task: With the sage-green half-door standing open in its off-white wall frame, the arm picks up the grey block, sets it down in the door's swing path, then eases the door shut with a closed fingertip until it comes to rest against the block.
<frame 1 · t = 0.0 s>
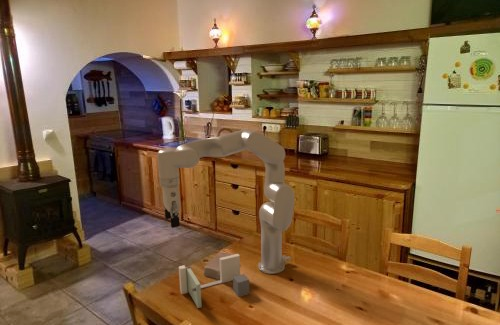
hand: (172, 222, 143), 31 cm above the table, fingers open, 9 cm apart
door: (192, 286, 144), point 6 cm above the table, hinge at 90.0°
wall frame: (211, 284, 156), on the table
brick: (220, 269, 169), on the table
grey block: (241, 292, 150), on the table
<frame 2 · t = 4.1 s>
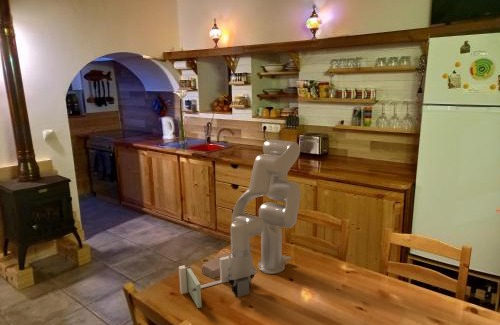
hand: (241, 290, 150), 1 cm above the table, fingers closed on grey block, 5 cm apart
grey block: (241, 292, 150), on the table, touching gripper
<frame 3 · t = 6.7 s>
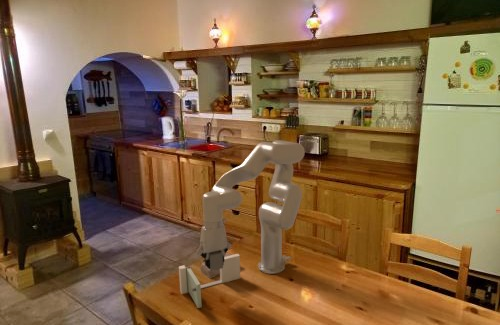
hand: (214, 265, 145), 13 cm above the table, fingers closed on grey block, 5 cm apart
grey block: (214, 266, 145), point 13 cm above the table, touching gripper
when the fingers open (2 cm above the table, at t = 9.5 s): grey block drops 1 cm, on the table.
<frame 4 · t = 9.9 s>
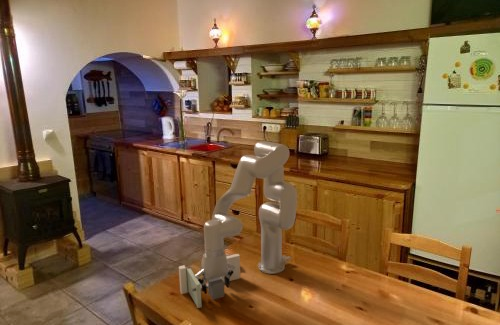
hand: (215, 289, 148), 3 cm above the table, fingers open, 9 cm apart
grey block: (216, 294, 148), on the table
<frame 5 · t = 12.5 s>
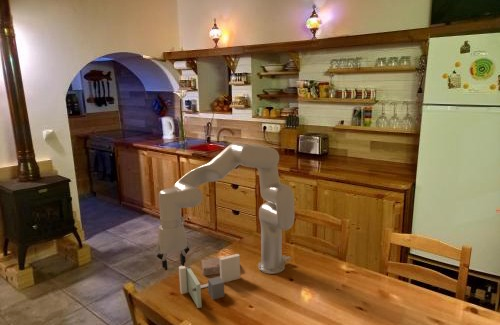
hand: (174, 266, 137), 18 cm above the table, fingers open, 5 cm apart
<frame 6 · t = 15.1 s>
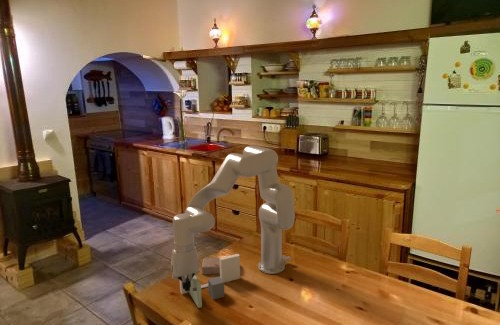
hand: (186, 289, 141), 7 cm above the table, fingers closed
door: (192, 286, 144), point 6 cm above the table, hinge at 89.3°, touching gripper
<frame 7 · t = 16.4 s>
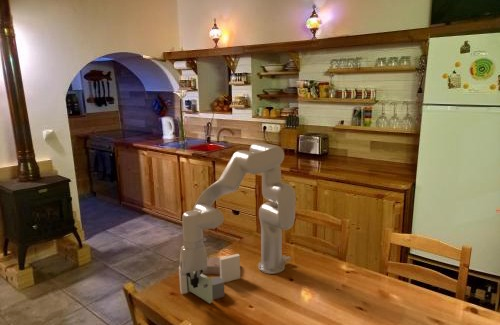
hand: (194, 285, 142), 7 cm above the table, fingers closed
door: (197, 284, 146), point 6 cm above the table, hinge at 68.5°, touching gripper
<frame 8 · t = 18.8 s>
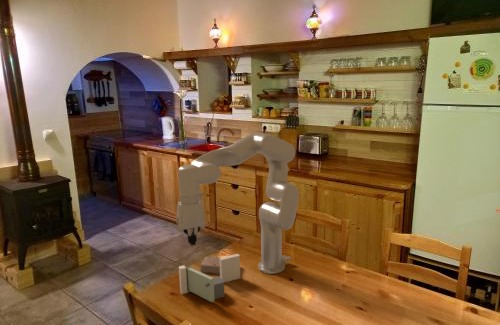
hand: (192, 243, 138), 25 cm above the table, fingers closed
door: (198, 284, 146), point 6 cm above the table, hinge at 64.6°
at the end: grey block inside the target area (0.1 cm from its centre), on the table; door at +65° (first picture: +90°); grey block tilted 0° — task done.
